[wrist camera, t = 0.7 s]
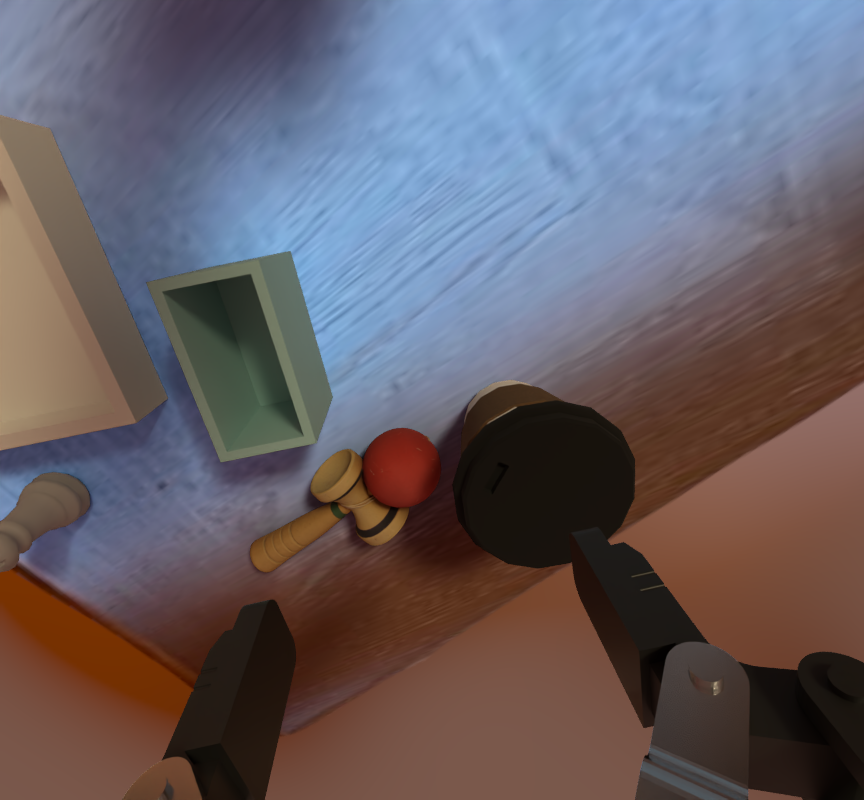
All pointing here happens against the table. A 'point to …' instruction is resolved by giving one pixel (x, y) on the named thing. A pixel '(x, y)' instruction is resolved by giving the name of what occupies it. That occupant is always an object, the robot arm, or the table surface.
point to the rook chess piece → (41, 513)
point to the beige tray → (60, 306)
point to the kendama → (360, 495)
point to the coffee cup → (538, 474)
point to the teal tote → (247, 353)
